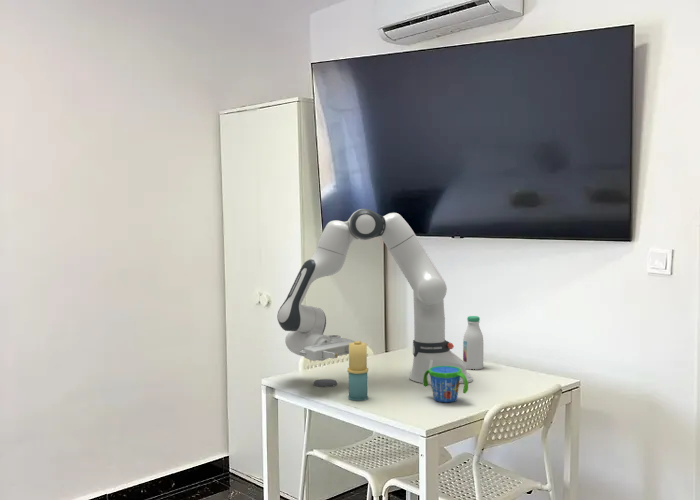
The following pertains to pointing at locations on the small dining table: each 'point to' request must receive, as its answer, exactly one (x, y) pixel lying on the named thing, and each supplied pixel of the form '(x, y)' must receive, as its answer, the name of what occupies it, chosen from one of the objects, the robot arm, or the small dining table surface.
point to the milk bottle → (473, 344)
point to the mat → (325, 382)
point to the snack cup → (445, 382)
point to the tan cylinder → (357, 357)
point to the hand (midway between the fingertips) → (346, 353)
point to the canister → (358, 387)
